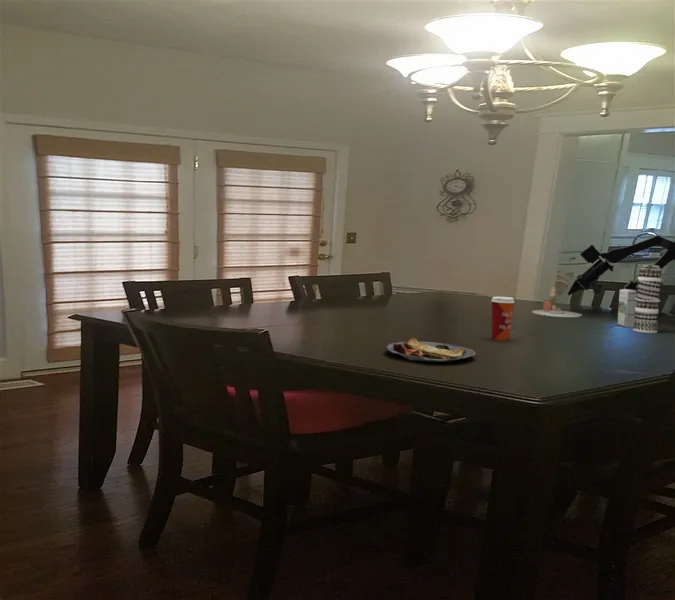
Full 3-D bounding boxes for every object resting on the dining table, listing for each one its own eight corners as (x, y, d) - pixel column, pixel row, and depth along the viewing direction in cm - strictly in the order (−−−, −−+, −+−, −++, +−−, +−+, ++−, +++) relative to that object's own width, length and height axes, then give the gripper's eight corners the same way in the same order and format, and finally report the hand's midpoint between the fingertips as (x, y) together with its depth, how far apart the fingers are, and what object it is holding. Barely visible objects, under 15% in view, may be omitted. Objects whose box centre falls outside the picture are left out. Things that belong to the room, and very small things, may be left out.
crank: (560, 310, 289) (562, 289, 288) (554, 310, 289) (555, 289, 288) (553, 307, 301) (555, 286, 300) (547, 306, 301) (549, 286, 300)
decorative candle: (638, 332, 244) (644, 265, 241) (627, 328, 254) (633, 263, 251) (662, 333, 245) (669, 266, 242) (650, 329, 254) (656, 264, 251)
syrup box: (638, 327, 258) (641, 290, 256) (624, 327, 257) (627, 290, 255) (629, 325, 263) (632, 289, 262) (616, 324, 262) (619, 288, 261)
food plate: (370, 354, 186) (371, 342, 186) (412, 344, 205) (413, 333, 204) (448, 371, 171) (449, 358, 171) (487, 359, 190) (488, 347, 189)
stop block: (550, 312, 295) (551, 302, 295) (544, 311, 295) (545, 302, 295) (548, 311, 298) (549, 301, 298) (543, 311, 298) (543, 301, 298)
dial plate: (589, 318, 280) (589, 315, 279) (540, 316, 280) (540, 313, 280) (572, 311, 300) (572, 308, 300) (526, 309, 301) (526, 306, 300)
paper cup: (505, 342, 214) (508, 299, 212) (484, 338, 219) (487, 297, 217) (516, 339, 220) (519, 298, 218) (495, 336, 225) (498, 295, 223)
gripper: (610, 286, 282) (581, 310, 287) (607, 282, 299) (580, 305, 304) (591, 267, 284) (563, 291, 289) (590, 265, 301) (563, 287, 306)
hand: (568, 294), depth 297 cm, fingers closed
